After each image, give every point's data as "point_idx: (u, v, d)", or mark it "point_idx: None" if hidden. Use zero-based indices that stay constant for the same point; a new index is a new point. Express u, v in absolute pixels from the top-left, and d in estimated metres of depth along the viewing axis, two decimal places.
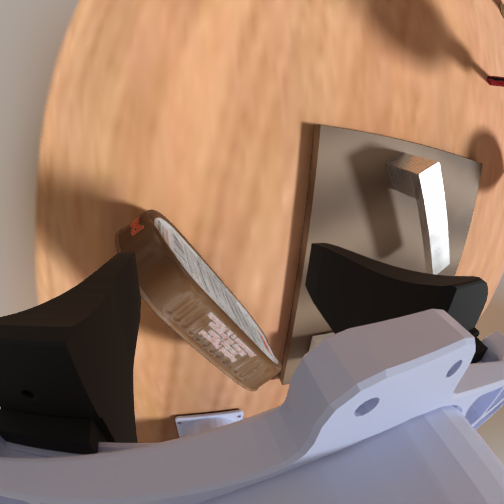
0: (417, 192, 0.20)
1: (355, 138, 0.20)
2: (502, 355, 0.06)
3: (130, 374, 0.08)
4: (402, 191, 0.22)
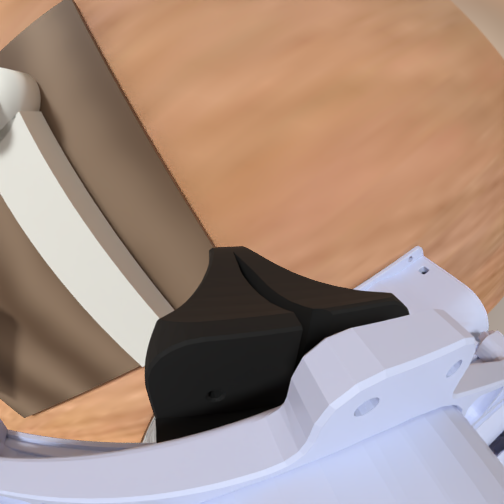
0: None
1: (3, 398, 0.17)
2: (502, 355, 0.06)
3: None
4: None
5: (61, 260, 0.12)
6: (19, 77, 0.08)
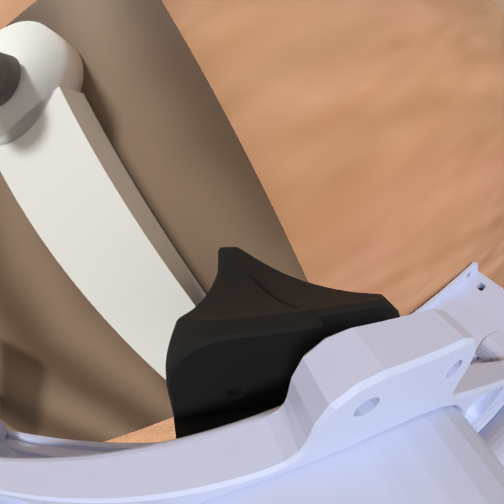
0: None
1: None
2: (502, 355, 0.06)
3: None
4: None
5: (121, 308, 0.09)
6: (59, 38, 0.06)
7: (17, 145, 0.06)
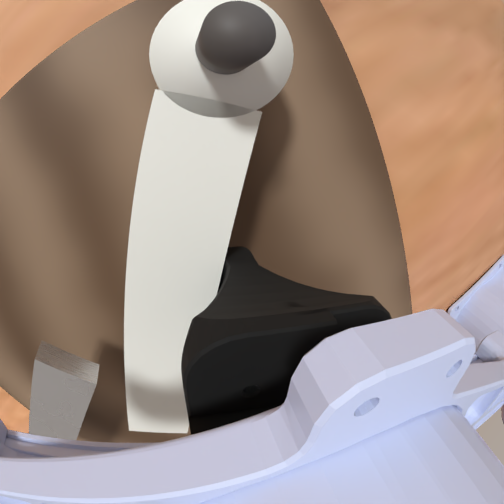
0: None
1: None
2: (502, 355, 0.06)
3: None
4: None
5: (147, 315, 0.09)
6: None
7: (185, 117, 0.07)
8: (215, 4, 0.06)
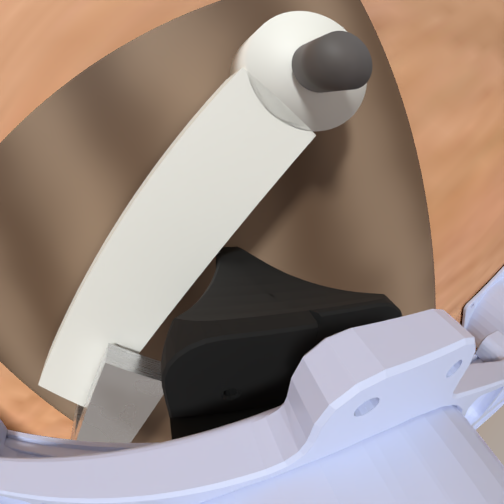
0: None
1: None
2: (502, 355, 0.06)
3: None
4: None
5: (120, 270, 0.09)
6: None
7: (254, 105, 0.08)
8: (324, 29, 0.07)
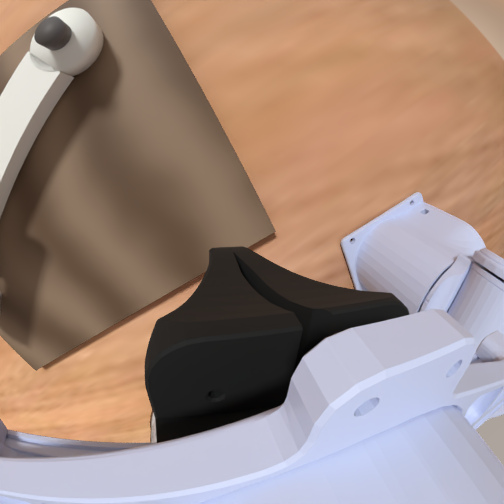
0: None
1: (16, 347, 0.19)
2: (502, 355, 0.06)
3: None
4: None
5: None
6: (89, 51, 0.11)
7: (31, 67, 0.10)
8: (70, 14, 0.09)
